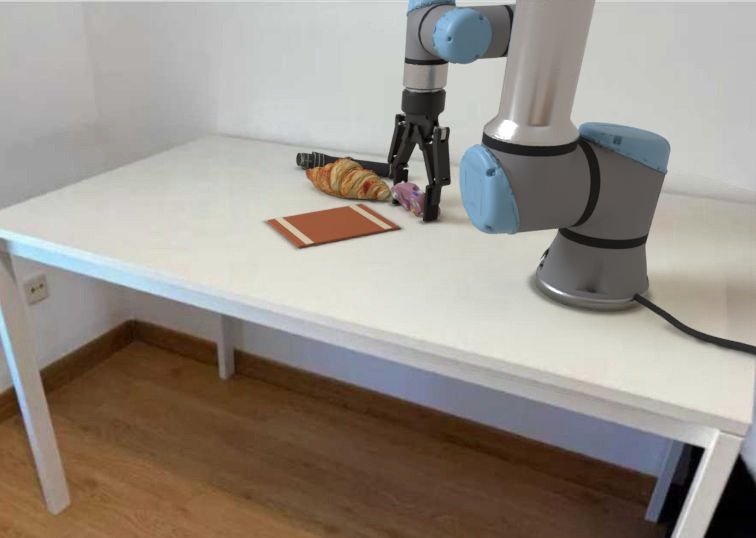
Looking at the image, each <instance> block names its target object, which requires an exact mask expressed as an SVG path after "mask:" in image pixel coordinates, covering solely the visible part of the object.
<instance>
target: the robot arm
mask: <svg viewBox="0 0 756 538" xmlns="http://www.w3.org/2000/svg"><path fill="white" fill-rule="evenodd" d="M595 6H596V0H515V3H512V4H511V3H509V4H496V5H495V4H492V5H490V4H489V5H470V6H457V3H456V0H408V6H407V11H406V29H405V46H404V47H405V49H404V62H403V75H402V86H403V87H404V88H403V90H402V92H401V104H400V108H401V110H400V111H402V112H403V113H402V112H401V113H396V114H395V116H394V127H393V128H394V129H393V132H392V136H391V142H390V145H389V150H388V151H389V152H388V155H387V161H386V163H388V164H392V168H393V170H394V177H393V179H392V184H393V186H395V185H396V184H398V183H401V182H402V181H404V183H407V182H408V183H409V169H408V168H409V167H410V165H409V161H410V159H411V156H412V154H413V152H414V150H415V148H416V145H418V149H419V150H420V151H421V152H422V153H421V154H422V157H423V161H424V162H423V163H424V167H425V171H426V176H427V177H426V178H427V181H428V184H427V185H425V191H424V193H425V200H424V211H423V213H422V221H423V223H428V222H433V221H437V220H438V218H439V217H438V208H439V207H440V204H441V198H442V189H443V187H447V186H450V185H451V184H452V179H451V178H452V176H451V175H452V174H451V161H450V160H451V159H450V143H449V141H450V134H451V128H450V127H449V126H441V125H440V121H439V117H440V115H441V114H442V113H443V112H444V111H445V109H446V98H447V91H446V89H444V88H446V86H447V85H448V75H449V74H448V73H449V63H450V64H454V65H455V64H459V65H467V64H471V63H474V62H476V61H477V60H485V59H487V60H488V59H498V58H506V61H505V62H506V64H505V68H504V75H503V80H502V87H501V94H500V100H499V106H498V111H497V114H496V115H495V116H494V117H492V118H491V119H490V120H488V121H487V122H486V123H485V124H484V126H483V129H482V135H481V142H480V144H479V143H478V144H474V145H473V146H470V147H468V148H466V150H465V151H464V154H463V155H462V157H461V160H460V163H459V173H458V175H459V177H458V179H459V183H458V184H459V191H460V196H461V201H462V204H463V207H464V210H465V212H466V215H467V217H468V219H469V220H470V222H471V223H472V225H473V226H474V227H475V228H476V229H477V230H478V231H480V232H482V233H484V234H488V235H502V234H503V235H505V234H506V235H510V236H511V235H516V234H519V233H528V232H529V233H530V232H538V231H546V230H547V231H548V230H557V231H556V232H557V233H556V234H555V237H554V238H553V240H552V241H551V243H550V245H549V246H548V247H547V248H546V250H545V251H544V252H543V254H542V255H541V257H540V259H539V261H540V262H539V264H538V266H537V267H536V271H535V277H534V285H535V287H536V289H537V290H538V291H539V292H540V293H542V294H543V295H544V296H546V297H547V298H549V299H551V300H553V301H555V302H557V303H560V304H562V305H566V306H569V307H571V308H576V309H580V310H587V311H595V312H620V311H626V310H631V309H634V308H637V307H639V306H641V305H642V306H643V307H645V308H647V309H648V310H649V311H651V312H653V313H654V314H656V315H658V316H659V317H661V319H664V320H665V321H667V323H669V324H670V325H671V326H673V327H674V328H676V329H677V330H679V331H681V332H682V333H684V334H686V335H688V336H690V337H693V338H695V339H698V340H700V341H703V342H706V343H710V344H713V345H717V346H722V347H725V348H730V349H734V350H739V351H743V352H747V353H751V354H752V355H753V354H754V355H756V345H752V344H748V343H745V342H742V341H741V342H740V341H736V340H732V339H726V338H722V337H718V336H715V335H711V334H708V333H705V332H702V331H699V330H697V329H695V328H692V327H690V326H688V325H687V324H684V323H683V322H682V321H680V320H679V319H677V318H676V317H674V315H672V314H671V313H669V312H667V310H665V309H663V308H662V307H660V306H659V305H657V304H655V303H654V302H651V301H650V300H649V299H647V295H648V292H649V288H650V280H649V276H648V264H647V247H646V246H647V241H648V237H649V234H650V231H651V227H652V223H653V220H654V216H655V212H656V209H657V205H658V203H659V198H660V195H661V192H662V190H663V189H662V188H663V185H664V182H665V178H666V175H667V174H668V172H669V171H668V164H669V160H670V159H669V158H670V156H671V151H672V150H671V144H670V143H669V140H667V139H666V137H663V136H662V135H660V134H657V133H655V132H653V131H649V130H646V129H642V128H638V127H635V126H629V125H623V124H619V123H610V122H597V121H588V122H584V123H581V124H580V125H579V126H578V128H577V127H576V125H575V124H574V122H573V121H572V119H571V116H572V112H573V106H574V103H575V98H576V93H577V89H578V83H579V79H580V74H581V69H582V65H583V62H584V61H583V60H584V55H585V51H586V46H587V41H588V38H589V34H590V29H591V28H590V27H591V23H592V19H593V14H594V9H595ZM393 186H392V187H393ZM391 203H392V205H395V206H396V205H401V203H400V202H399V201H398V200H397V199H394V198H393V197H392V201H391Z"/></svg>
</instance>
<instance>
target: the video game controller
mask: <svg viewBox="0 0 756 538" xmlns="http://www.w3.org/2000/svg"><path fill="white" fill-rule="evenodd" d="M390 191H391V192H392V194H391V197H392V199H393V198H394V199H397V200H398V201H399V202H400V203H401V204H400V205H401V206H402V208H403V209H404V210H405V211H406V212H408V211H411V213H412V214H413V215H414V216H416V217H418V216H420V215H421V214H423V211H424V200H425V191H424V190H423V189H420V187H419V186H418V185H417V184H416V183H414V182H409V181H408V182H407V183H404V181H402V182H401V183H398V184H396V185H395V186H392V187H391V188H390ZM441 211H442V210H441V207H440V206H439V208H438V218H439V217H440V215H441V214H442V213H441Z"/></svg>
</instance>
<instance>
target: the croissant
mask: <svg viewBox="0 0 756 538" xmlns="http://www.w3.org/2000/svg"><path fill="white" fill-rule="evenodd" d="M341 158H342V157H341ZM341 158H340V159H339V160H337V161H336V162H335V163H334V164H333V163H328V164H327V165H326V166H324V167H315V168H314V169H310V168H307V169H306V170H305V176H306V179H308V180H309V182H311V184H312V185H313V186H314V188H316V189H317V190H318V191H321V192H323V193H325V194H327V195H329V196H335V197H338V198H343V199H359V200H371V199H374V200H376V201H382V200H387V199H390V198H391V197H392V194H393V193H392V191H391V188H390V186H389V185H388V184H387V183H386V181H385V180H382V179H380V177H378V176H377V175H376V174H375V172H374V171H373V170H364V169H363V167H362V166H361V165H360V164H358V163H357V162H354V161H351V160H348V159H341Z"/></svg>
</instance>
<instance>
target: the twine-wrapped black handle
mask: <svg viewBox="0 0 756 538" xmlns="http://www.w3.org/2000/svg"><path fill="white" fill-rule="evenodd" d="M340 158H341V159H348V160H351V161H354V162H357V163H358V164H360V165H361V166H362V167H363V169H364V170H373V171H374V172H375V174H376V175H377V176H378V177H379V178H383V179H384V178H385V179H389V180H393V177H394V170H393V168H392V164H388V162H382V161H381V162H380V161H373V160H364V159H357V158H354V157H351V156H344V157H340V156H332V155H329V154H326V153H324V152H323V153H321V152H318V151H313V150H312V152H311V153H308V152H297V154H296V157H295V163H296V166H297V167H302V168H307V169H314V168H315V167H324V166H326V165H327V164H328V163H333V164H334V163H335V162H336V161H337V160H339V159H340Z"/></svg>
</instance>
